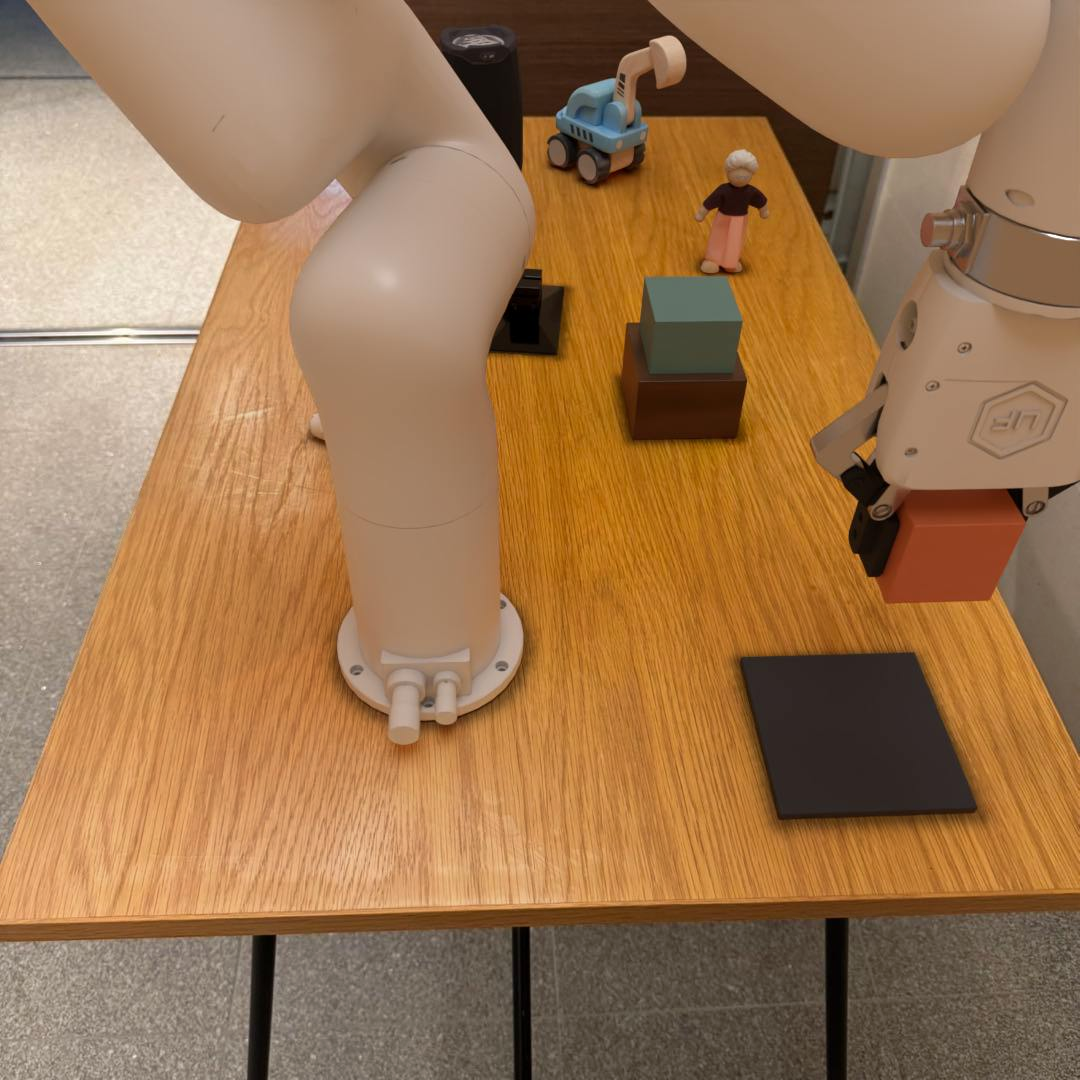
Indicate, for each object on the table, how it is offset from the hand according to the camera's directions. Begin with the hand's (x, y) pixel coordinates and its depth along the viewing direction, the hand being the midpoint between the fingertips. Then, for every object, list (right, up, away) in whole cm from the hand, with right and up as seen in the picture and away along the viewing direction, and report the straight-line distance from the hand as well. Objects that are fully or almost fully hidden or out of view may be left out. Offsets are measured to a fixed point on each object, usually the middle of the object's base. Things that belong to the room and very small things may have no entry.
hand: (924, 554), depth 53 cm
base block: (-8, +13, +36) cm, 39 cm away
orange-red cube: (0, -1, +1) cm, 1 cm away
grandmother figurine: (0, +30, +55) cm, 62 cm away
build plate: (-22, +23, +46) cm, 56 cm away
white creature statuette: (-34, +11, +34) cm, 49 cm away
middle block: (-8, +17, +32) cm, 37 cm away
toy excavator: (-12, +46, +71) cm, 85 cm away
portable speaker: (-27, +38, +62) cm, 77 cm away
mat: (0, -12, +11) cm, 16 cm away
